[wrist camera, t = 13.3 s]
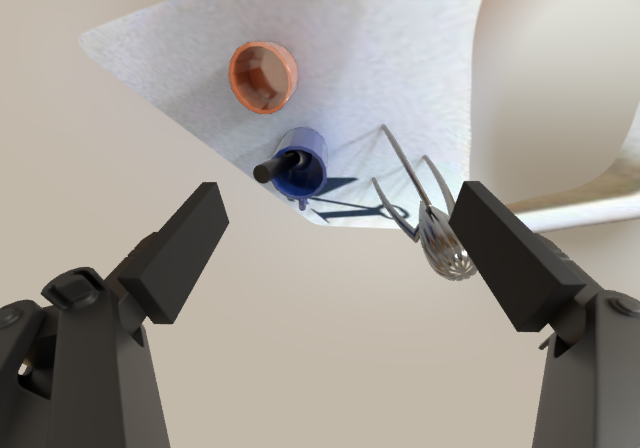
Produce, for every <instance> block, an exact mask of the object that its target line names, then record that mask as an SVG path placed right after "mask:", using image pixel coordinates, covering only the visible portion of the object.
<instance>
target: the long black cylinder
mask: <svg viewBox="0 0 640 448" xmlns="http://www.w3.org/2000/svg"><path fill="white" fill-rule="evenodd" d="M311 161H312V154H311V153H308V152H306V151H303V150H289V151H287V152H285V155H282V156H280V157H277V158H275V159H272V160H270V161H267V162H265V163H263V164H260V165H258V166H256V167H255V168H254V172H253V174H254V177H255V179H256V180H257V181H258V182H260V183H267V182H269V181H271V180H272V179H274V178H276V177H277V176H279V175H281V174H283V173H284V172H286V171H288V170H289V169H291V168H292V169H294V170H304V169H306V168H307V167H308V166H309V165H310V163H311Z"/></svg>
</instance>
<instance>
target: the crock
mask: <svg viewBox="0 0 640 448" xmlns="http://www.w3.org/2000/svg"><path fill="white" fill-rule="evenodd" d="M229 79H230V83H231V88H232V90H233V92H234V93H235V95H236V97H237V99H238V100H239V101H240V102H241V103H242V104H243V105H244V106H245V107H246V108H247V109H249V110H251V111H254V112H256V113H259V114H272V113H274V112H276V111H278V110H280V109H281V108H282V107H283V106H284V104H285V103H286V102H287V101H288V99H289V98H290V97H291V95H292V94H293V93H294V91H295V89H296V87H297V83H298V68H297V64H296V62H295V60H294V58H293V56H292V55H291V53H290V52H289V51H288V50H287V49H286V48H285V47H283V46H281V45H279V44H277V43H274V42H247V43H246V44H244V45H242V46H241V47H239V48H237V50H236V51H235V53H234V55H233V57H232V58H231V60H230V67H229Z"/></svg>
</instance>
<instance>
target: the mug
mask: <svg viewBox="0 0 640 448" xmlns="http://www.w3.org/2000/svg"><path fill="white" fill-rule="evenodd" d="M289 150H303V151H306V152H308V153H311V154H312V161H311V163H310V165H309V166H308V167H307V168H306V169H304V170H294V169H292V168H291V169H289V170H288V171H286V172H284V173H283V174H281V175H279V176H277V177H276V178H274V179H272V180H271V181H272V183H273V185H274V186H275V188H276V189H277V190H278V191H279V192H281V193H282V194H283V195H285V196H287V197H290V198H293V199H298V200H299V209H300V210H301V211H304V210H305V208H306V202H307V198H309V197H312V196H315V195H316V194H317V193H318V192H319V191H320V190H321V189H322V188H323V186H324V184H325V182H326V179H327V147H326V144H325V142H324V140H323V138H322V137H321V136H320V135H319V134H318V133H317V132H315V131H314V130H312V129H309V128H295V129H293V130H291V131H289V132H288V133H287V134H286V135H285V136H284V137H283V139H282V140H281V142H280V143H279V145H278V147H277V149H276V151H275V153H274V155H273V157H272V159H275V158H277V157H280V156H282V155H285V152H287V151H289ZM272 159H271V160H272Z"/></svg>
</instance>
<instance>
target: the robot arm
mask: <svg viewBox="0 0 640 448" xmlns="http://www.w3.org/2000/svg"><path fill="white" fill-rule="evenodd" d="M228 224H229V220H228V217H227V214H226V211H225V207H224V204H223V201H222V198H221V195H220V191H219V189H218V185H217V182H203V183H202V184H201V185H200V186H199V187H198V188H197V189H196V190H195V191H194V193H193V194H192V195H191V196H190V197H189V198H188V199H187V200H186V201H185V203H184V204H183V205H182V206H181V207H180V208H179V209H178V210H177V212H176V213H175V214H174V215H173V216H172V217H171V218H170V219H169V220H168V221H167V223H166V224H165V225H164V226H163V227H162V228H161V229H160V230H159V231H158V232H153V233H152V234H150V235H149V236H147V237H145V238H144V239H143V240H142V241H141V242H140V243H139V244H138V245H137V246H136V247H135V249H134V250H132V251H131V252H130V253H129V254H128V257H126V258H124V260H123V261H122V262H121V263H120V264H119V265H118V266H117V267H116V268H115V269H114V270H113V271H112V272H111V273H110V274H109V275H108V276H107V278H106V279H105V280H103V279H102V278H101V277H100V276H99V274H98V273H97V272H96V271H95V270H94V269H93V268H90V267H80V268H76V269H73V270H70V271H67V272H65V273H63V274H61V275H59V276H58V277H56V278H54V279H53V280H51V281H50V282H49V283H48V284H47V285H46V286H45V287H44V288H43V290H42V292H41V295H42V296H44V297H45V298H46V299H47V300H48V301H50V302H51V303H52V304H53V305H52V306H48V307H43V308H42V307H40V306H39V305H37V303H35V302H34V301H32V300H21V301H17V302H14V303H11V304H9V305H6V306H4V307H2V308H0V448H170V443H169V439H168V434H167V429H166V424H165V420H164V415H163V410H162V406H161V401H160V397H159V391H158V387H157V382H156V377H155V373H154V368H153V364H152V358H151V354H150V349H149V345H148V340H147V335H146V330H145V328H144V326H143V325H142V322H143V321H144V319H145V318H146V316H148V317H149V318H150V320H151V321H152V322H153V323H154V324H173V323H174V321H175V320H176V318H177V316H178V314H179V312H180V311H181V309H182V307H183V305H184V303H185V301H186V300H187V298H188V296H189V294H190V293H191V291H192V289H193V287H194V285H195V283H196V282H197V280H198V278H199V276H200V275H201V273H202V271H203V269H204V267H205V266H206V264H207V262H208V260H209V258H210V257H211V255H212V253H213V251H214V249H215V248H216V246H217V244H218V242H219V240H220V239H221V237H222V235H223V233H224V231H225V229H226V228H227V226H228ZM448 224H449V226H450V227H451V229H452V230H453V232H454V234H455V235H456V237H457V238H458V240H459V241H460V243H461V245H462V246H463V248H464V249H465V251H466V252H467V254H468V255H469V257H470V259H471V260H472V262H473V263H474V265H475V266H476V268H477V270H478V271H479V273H480V274H481V276H482V277H483V279H484V280H485V282H486V284H487V285H488V287H489V288H490V290H491V291H492V293H493V294H494V296H495V297H496V299H497V301H498V302H499V304H500V305H501V307H502V309H503V310H504V312H505V313H506V315H507V316H508V318H509V319H510V321H511V323H512V324H513V326H514V327H515V329H516V330H517V332H540V331H541V329H542V328H544V327H545V326H546V325H547V324H548V323H549V324H550V326H551V327H552V328H553V329H554V331H555V332H554V333H553V334H552V335H550V336H549V337H548V338H547V339H546V340H545V341H544V342H543V343H542V344H541V345H540V347H539V349H541V350H543V349H544V348H545V347H546V346H548V352H547V358H546V364H545V370H544V377H543V383H542V389H541V395H540V401H539V408H538V414H537V420H536V427H535V432H534V438H533V445H532V448H640V301H638V300H636V299H634V298H632V297H630V296H628V295H626V294H623V293H619V292H616V291H611V290H604V289H603V288H602V287H601V286H600V285H599V284H598V283H597V282H595V281H594V280H593V279H592V278H591V277H590V276H589V275H588V274H587V273H586V272H584V271H583V270H582V269H581V268H580V267H579V266H578V265H577V264H576V263H575V262H573V261H572V260H570V258H569V257H568V256H567V255H566V254H565V253H562V252H561V250H560V249H559V248H558V247H557V246H556V245H555V244H554V243H553V242H551V241H550V240H548V239H546V238H545V237H543V236H541V235H540V234H538V233H533V232H532V231H531V230H530V229H529V228H528V227H527V226H526V225H525V224H524V223H523V222H521V221H520V220H519V219H518V218H517V217H516V216H515V215H514V214H513V213H512V212H511V211H510V210H509V209H508V208H507V207H506V206H505V205H504V204H503V203H501V202H500V201H499V200H498V199H497V198H496V197H495V196H494V195H493V194H492V193H491V192H490V191H489V190H488V189H487V188H486V187H485V186H484V185H483V184H481V183H480V182H479V181H464V182H463V185H462V188H461V190H460V193H459V195H458V198H457V201H456V203H455V206H454V209H453V211H452V214H451V217H450V219H449V222H448ZM22 363H23V364H25V365H27V368H26V370H25V372H24V373H23V375H20V374H18V371H19V369H20V367H21V365H22Z"/></svg>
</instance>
